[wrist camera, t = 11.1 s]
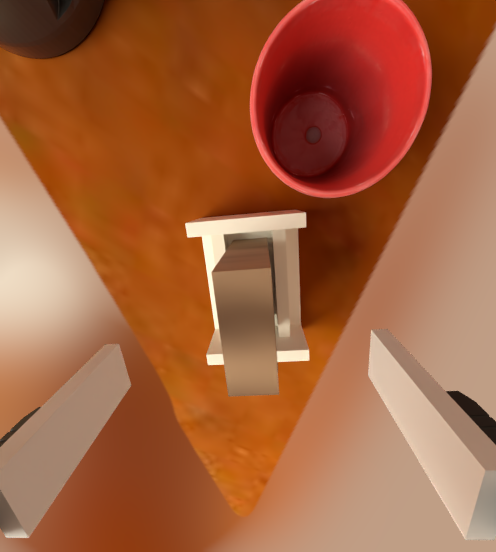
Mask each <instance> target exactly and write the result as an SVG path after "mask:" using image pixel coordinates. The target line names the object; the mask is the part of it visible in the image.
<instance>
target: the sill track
mask: <svg viewBox="0 0 496 552" xmlns="http://www.w3.org/2000/svg"><path fill="white" fill-rule="evenodd" d="M185 225H186V231H187V237H199V236H202V241H203V248H204V255H205V261H206V268H207V275H208V282H209V289H210V296H211V303H212V310H213V317H214V324H215V332H214V334H213V337H212V340H211V343H210V346H209V349H208V351H207V354H206V356H207V362H208V365H221V364H224V360H223V353H222V346H221V338H220V331H219V324H218V317H217V309H216V302H215V295H214V288H213V281H212V273H211V272H212V271H213V269H214V268H215V266H216V265H217V263H218V262H219V260H220V259H221V257H222V256H223V254H224V253H225V251H226V250H227V249H228V247H229V246H230V244H231V243H232V241H233V240H241V239H253V238H265V237H267V244H268V251H269V259H270V266H271V275H272V287H273V302H274V317H275V333H276V348H277V362H287V361H309V348H308V345H307V342H306V339H305V336H304V332H303V329H302V326H301V307H300V276H299V244H298V228H305V227H306V212H303V211H300V210H296V209H295V210H284V211H273V212H262V213H251V214H240V215H229V216H218V217H207V218H200V219H197V220H194V221H191V222H187V223H185Z"/></svg>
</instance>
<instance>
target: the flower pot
mask: <svg viewBox="0 0 496 552" xmlns="http://www.w3.org/2000/svg"><path fill="white" fill-rule="evenodd" d="M431 85H432V65H431V57H430V52H429V47H428V44H427V40H426V37H425V35H424V33H423V30H422V28H421V26H420V24H419V22H418V20H417V18H416V17H415V15H414V14H413V12H412V11H411V10H410V9H409V7H408V6H407V5H406V4H405V3H404V2H403V1H402V0H303V1H302V2H300V3H299V4H298V5H297V6H295V7H294V8H293V9H292V10H291V11H290V12H289V13H288V14H287V15H286V16H285V17H284V18H283V19H282V20H281V21H280V23H279V24H278V25H277V26H276V28H275V29H274V31H273V32H272V34H271V35H270V36H269V38H268V40H267V42H266V43H265V45H264V47H263V49H262V52H261V54H260V57H259V59H258V62H257V65H256V68H255V71H254V75H253V79H252V86H251V93H250V117H251V125H252V131H253V135H254V138H255V141H256V144H257V147H258V149H259V151H260V154H261V155H262V157H263V159H264V161H265V162H266V164H267V165H268V167H269V168H270V169H271V171H272V172H273V173H274V174H275V175H276V176H277V177H278V178H279V179H280V180H281V181H283V182H284V183H285V184H287V185H288V186H289V187H291V188H293V189H295V190H297V191H299V192H301V193H303V194H306V195H310V196H314V197H321V198H337V197H343V196H348V195H352V194H354V193H357V192H360V191H362V190H364V189H366V188H368V187H370V186H372V185H373V184H375V183H377V182H378V181H379V180H381V179H382V178H383V177H385V176H386V175H387V174H388V173H389V172H390V171H391V170H392V169H393V168H394V167H395V166H396V165H397V164H398V163H399V162H400V161H401V159H402V158H403V157H404V156H405V154H406V153H407V151H408V150H409V149H410V147H411V145H412V144H413V142H414V140H415V138H416V136H417V134H418V132H419V130H420V128H421V126H422V124H423V121H424V118H425V115H426V112H427V109H428V105H429V100H430V94H431Z"/></svg>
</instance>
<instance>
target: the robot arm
mask: <svg viewBox="0 0 496 552" xmlns="http://www.w3.org/2000/svg"><path fill="white" fill-rule="evenodd" d="M103 3H104V0H0V47H1V48H3V49H5V50H7V51H9V52H12V53H14V54H17V55H20V56H24V57H29V58H50V57H55V56H58V55H61V54H64V53H66V52H68V51H69V50H71V49H73V48H74V47H75V46H77V45H78V44H79V43H80V42H81V41H82V40H83V39H84V38H85V37H86V36H87V35H88V33H89V32H90V31H91V29H92V28H93V26H94V24H95V23H96V21H97V19H98V17H99V14H100V12H101V9H102V6H103ZM368 376H369V378H370V379H371V381H372V383H373V384H374V386H375V388H376V389H377V391H378V393H379V395H380V396H381V398H382V400H383V401H384V403H385V405H386V406H387V408H388V410H389V411H390V413H391V415H392V416H393V418H394V420H395V422H396V423H397V425H398V427H399V428H400V430H401V432H402V433H403V435H404V437H405V439H406V440H407V442H408V444H409V445H410V447H411V449H412V450H413V452H414V454H415V455H416V457H417V459H418V461H419V462H420V464H421V466H422V467H423V469H424V471H425V472H426V474H427V476H428V477H429V479H430V481H431V482H432V484H433V486H434V488H435V489H436V491H437V493H438V494H439V496H440V498H441V499H442V501H443V503H444V505H445V506H446V508H447V510H448V511H449V512H450V515H451V516H452V518H453V520H454V521H455V523H456V525H457V527H458V528H459V530H460V532H461V533H462V535H463V537H464V538H465V540H495V537H496V421H495V420H494V419H493V418H490V417H489V415H488V414H487V413H486V412H485V411H484V410H483V409H482V408H481V407H480V406H479V405H478V404H477V403H476V402H475V401H473V400H472V399H470V398H469V397H467V396H465V395H464V394H462V393H460V392H459V391H445V390H444V389H443V388H442V387H441V386H440V385H439V384H438V383H437V382H436V381H435V380H434V378H432V377H431V375H430V374H429V373H428V372H427V371H426V370H425V369H424V368H423V367H422V366H421V365H420V363H418V361H417V360H416V359H415V358H414V357H413V356H412V355H411V354H410V353H409V352H408V351H407V350H406V349H405V347H404V346H403V345H402V344H401V343H400V342H399V341H398V340H397V339H396V338H395V337H394V336H393V335H392V333H391V332H390V331H389V330H388V329H379V330H371V343H370V356H369V371H368ZM130 386H131V383H130V380H129V377H128V373H127V370H126V367H125V363H124V359H123V356H122V353H121V349H120V346H119V344H105V345H104V346H103V347H102V348H101V349H100V350H99V351H98V352H97V353H96V354H95V355H94V356H93V357H92V358H91V359H90V360H89V361H88V362H87V363H86V364H85V365H84V366H83V367H82V368H81V369H80V370H79V371H78V372H77V373H76V374H75V375H73V376H72V377H71V379H69V380H68V381H67V382H66V383H65V384H64V385H63V386H62V387H61V388H60V389H59V390H58V391H57V392H56V393H55V394H54V395H53V396H52V397H51V398H50V399H49V400H48V401H47V402H46V403H45V404H44V405H43V406H42V407H39V408H37V409H35V410H34V411H32V412H31V413H30V414H28V415H27V416H25V417H24V418H23V419H22V420H20V422H18V423H17V424H16V425H15V426H14V427H13V428H12V429H11V431H10V432H8V433H7V434H6V435H5V436H4V437H3V438H2V439H0V528H1V530H2V531H3V533H4V534H5V536H6V538H29V537H30V535H31V534H32V532H33V531H34V529H35V528H36V526H37V525H38V523H39V522H40V520H41V519H42V517H43V516H44V514H45V513H46V511H47V510H48V508H49V507H50V505H51V504H52V502H53V501H54V499H55V498H56V497H57V495H58V493H59V492H60V491H61V489H62V488H63V486H64V485H65V483H66V482H67V480H68V479H69V477H70V476H71V474H72V473H73V471H74V470H75V468H76V467H77V465H78V464H79V462H80V461H81V459H82V458H83V456H84V455H85V453H86V452H87V450H88V449H89V447H90V446H91V444H92V443H93V441H94V440H95V438H96V437H97V435H98V434H99V432H100V431H101V429H102V428H103V426H104V425H105V423H106V422H107V420H108V419H109V417H110V416H111V415H112V413H113V412H114V410H115V408H116V407H117V405H118V404H119V403H120V401H121V399H122V398H123V397H124V395H125V394H126V392H127V390H128V389H129V388H130Z"/></svg>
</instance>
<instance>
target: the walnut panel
mask: <svg viewBox="0 0 496 552" xmlns="http://www.w3.org/2000/svg"><path fill="white" fill-rule="evenodd" d="M211 273H212V281H213V288H214V295H215V302H216V309H217V317H218V324H219V331H220V338H221V346H222V353H223V360H224V367H225V374H226V382H227V389H228V396H252V395H279V385H278V363H277V348H276V333H275V317H274V302H273V287H272V275H271V266H270V259H269V251H268V244H267V237H265V238H253V239H241V240H233V241H232V243H231V244H230V246H229V247H228V249H227V250H226V251H225V253H224V254H223V256H222V257H221V259H220V260H219V262H218V263H217V265H216V266H215V268H214V269H213V271H212V272H211Z"/></svg>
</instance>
